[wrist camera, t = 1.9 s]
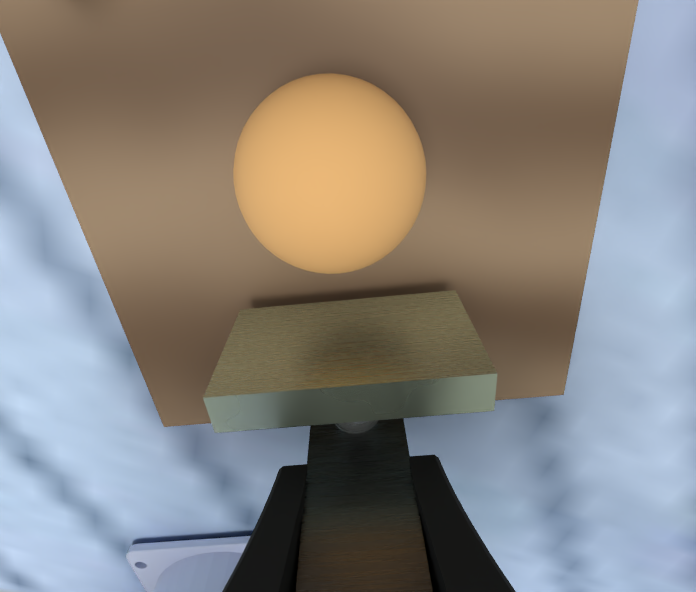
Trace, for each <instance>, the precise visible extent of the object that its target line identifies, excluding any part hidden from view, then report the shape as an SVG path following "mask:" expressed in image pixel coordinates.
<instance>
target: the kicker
mask: <svg viewBox="0 0 696 592" xmlns="http://www.w3.org/2000/svg"><path fill="white" fill-rule="evenodd" d="M496 384H497V372H496V370H495V368H494V366H493V364H492V362H491V360H490V358H489V356H488V354H487V352H486V350H485V348H484V346H483V344H482V342H481V340H480V338H479V336H478V334H477V332H476V330H475V328H474V326H473V324H472V322H471V320H470V318H469V316H468V314H467V312H466V310H465V308H464V306H463V304H462V302H461V300H460V298H459V296H458V294H457V293H456V291H455V290H452V291H441V292H430V293H419V294H408V295H397V296H386V297H375V298H364V299H352V300H341V301H330V302H319V303H308V304H297V305H286V306H275V307H264V308H253V309H241V310H240V312H239V314H238V316H237V319H236V321H235V323H234V326H233V328H232V330H231V333H230V335H229V337H228V340H227V342H226V345H225V347H224V349H223V352H222V354H221V356H220V359H219V361H218V363H217V366H216V368H215V371H214V373H213V375H212V378H211V380H210V382H209V385H208V387H207V389H206V392H205V394H204V396H203V400H204V403H205V406H206V408H207V411H208V414H209V417H210V420H211V423H212V426H213V429H214V432H215V433H222V432H234V431H247V430H259V429H272V428H284V427H297V426H310V425H311V427H310V438H309V449H308V460H307V464H308V467H307V478H306V489H305V500H304V507H303V516H302V527H301V538H300V549H299V560H298V571H297V582H296V592H433V590H432V585H431V579H430V573H429V567H428V561H427V555H426V550H425V544H424V538H423V532H422V526H421V520H420V515H419V509H418V504H417V500H416V496H415V491H414V485H413V479H412V473H411V468H410V462H409V457H410V456H409V450H408V445H407V439H406V433H405V427H404V421H403V418H410V417H423V416H435V415H448V414H461V413H473V412H486V411H494V406H495V395H496ZM398 418H399V419H398ZM385 419H386V420H385ZM322 424H323V425H322Z"/></svg>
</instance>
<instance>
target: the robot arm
mask: <svg viewBox="0 0 696 592" xmlns="http://www.w3.org/2000/svg"><path fill="white" fill-rule="evenodd" d="M409 462H410V468H411V473H412V479H413V485H414V491H415V496H416V500H417V504H418V509H419V515H420V520H421V526H422V532H423V538H424V544H425V550H426V555H427V561H428V567H429V573H430V579H431V585H432V590H433V592H515V590H514V589H513V587H512V586H511V584H510V583H509V581H508V580H507V578H506V577H505V575H504V574H503V572H502V571H501V569H500V568H499V566H498V565H497V563H496V562H495V560H494V559H493V557H492V556H491V554H490V552H489V551H488V549H487V548H486V546H485V544H484V543H483V541H482V539H481V538H480V536H479V534H478V533H477V531H476V529H475V528H474V526H473V525H472V523H471V521H470V519H469V518H468V516H467V514H466V512H465V511H464V509H463V507H462V505H461V503H460V501H459V500H458V498H457V496H456V494H455V492H454V490H453V488H452V486H451V484H450V482H449V480H448V478H447V476H446V474H445V472H444V469H443V467H442V465H441V462H440V460H439V458H438V457H437V456H435V455H424V456H411V457H409ZM307 467H308V464H306V465H293V466H283V467H282V468H280V469H279V471H278V474H277V477H276V480H275V482H274V485H273V487H272V490H271V492H270V495H269V497H268V499H267V502H266V504H265V506H264V509H263V511H262V513H261V515H260V518H259V520H258V522H257V524H256V526H255V529H254V531H253V533H252V535H251V536H240V537H226V538H212V539H198V540H183V541H169V542H155V543H141V544H134V545H132V546H130V548H129V550H128V552H127V554H126V559H127V560H128V562H129V564H130V565H131V567H132V569H133V570H134V572H135V574H136V575H137V577H138V579H139V580H140V582H141V584H142V586H143V587H144V589H145V591H146V592H296V582H297V571H298V560H299V549H300V538H301V527H302V516H303V507H304V500H305V489H306V478H307Z"/></svg>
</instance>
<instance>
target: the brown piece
mask: <svg viewBox="0 0 696 592" xmlns="http://www.w3.org/2000/svg"><path fill="white" fill-rule="evenodd" d="M637 5H638V0H0V33H1V36H2V38H3V41H4V43H5V45H6V48H7V50H8V53H9V55H10V57H11V60H12V62H13V65H14V67H15V69H16V72H17V74H18V77H19V79H20V81H21V84H22V86H23V89H24V91H25V93H26V96H27V98H28V101H29V103H30V106H31V108H32V110H33V113H34V115H35V118H36V120H37V122H38V125H39V127H40V130H41V132H42V134H43V137H44V139H45V142H46V144H47V146H48V149H49V151H50V154H51V156H52V158H53V161H54V163H55V166H56V168H57V170H58V173H59V175H60V178H61V180H62V182H63V185H64V187H65V190H66V192H67V194H68V197H69V199H70V202H71V204H72V207H73V209H74V211H75V214H76V216H77V219H78V221H79V223H80V226H81V228H82V231H83V233H84V235H85V238H86V240H87V243H88V245H89V247H90V250H91V252H92V255H93V257H94V259H95V262H96V264H97V267H98V269H99V271H100V274H101V276H102V279H103V281H104V283H105V286H106V288H107V291H108V293H109V295H110V298H111V300H112V303H113V305H114V308H115V310H116V312H117V315H118V317H119V320H120V322H121V324H122V327H123V329H124V332H125V334H126V336H127V339H128V341H129V344H130V346H131V348H132V351H133V353H134V356H135V358H136V360H137V363H138V365H139V368H140V370H141V372H142V375H143V377H144V380H145V382H146V384H147V387H148V389H149V392H150V394H151V396H152V399H153V401H154V404H155V406H156V409H157V411H158V413H159V416H160V418H161V421H162V423H163V425H164V427H168V426H181V425H193V424H206V423H211V420H210V417H209V414H208V411H207V408H206V406H205V403H204V400H203V396H204V394H205V392H206V389H207V387H208V385H209V382H210V380H211V378H212V375H213V373H214V371H215V368H216V366H217V363H218V361H219V359H220V356H221V354H222V352H223V349H224V347H225V345H226V342H227V340H228V337H229V335H230V333H231V330H232V328H233V326H234V323H235V321H236V319H237V316H238V314H239V312H240V310H241V309H253V308H264V307H275V306H286V305H297V304H308V303H319V302H330V301H341V300H352V299H364V298H375V297H386V296H397V295H408V294H419V293H430V292H441V291H452V290H455V291H456V293H457V294H458V296H459V298H460V300H461V302H462V304H463V306H464V308H465V310H466V312H467V314H468V316H469V318H470V320H471V322H472V324H473V326H474V328H475V330H476V332H477V334H478V336H479V338H480V340H481V342H482V344H483V346H484V348H485V350H486V352H487V354H488V356H489V358H490V360H491V362H492V364H493V366H494V368H495V370H496V372H497V384H496V395H495V400H504V399H517V398H529V397H541V396H554V395H564V390H565V384H566V379H567V374H568V369H569V363H570V358H571V353H572V348H573V342H574V337H575V332H576V327H577V321H578V316H579V311H580V306H581V300H582V295H583V290H584V284H585V279H586V274H587V269H588V263H589V258H590V253H591V248H592V242H593V237H594V232H595V227H596V221H597V216H598V211H599V205H600V200H601V195H602V190H603V184H604V179H605V174H606V169H607V163H608V158H609V153H610V148H611V142H612V137H613V132H614V126H615V121H616V116H617V111H618V105H619V100H620V95H621V90H622V84H623V79H624V74H625V69H626V63H627V58H628V53H629V47H630V42H631V37H632V32H633V26H634V21H635V16H636V11H637ZM328 73H334V74H342V75H348V76H352V77H356V78H359V79H362V80H364V81H366V82H369V83H371V84H373V85H375V86H376V87H378V88H380V89H381V90H383V91H384V92H386V93H387V94H388V95H389V96H390V97H392V98H393V99H394V100H395V101H396V102H397V103H398V104H399V105H400V106H401V108H402V109H403V110H404V111H405V113H406V114H407V116H408V117H409V118H410V120H411V121H412V123H413V125H414V127H415V129H416V131H417V133H418V135H419V138H420V141H421V144H422V147H423V151H424V156H425V161H426V187H425V193H424V199H423V203H422V206H421V209H420V212H419V214H418V216H417V219H416V221H415V223H414V225H413V226H412V228H411V229H410V231H409V233H408V234H407V235H406V236H405V238H404V239H403V240H402V241H401V243H400V244H399V245H398V246H397V247H396V248H395V249H394V250H393V251H392V252H390V253H389V254H388V255H386V256H385V257H384V258H382V259H381V260H379V261H377V262H375V263H374V264H372V265H370V266H367V267H365V268H362V269H359V270H355V271H352V272H346V273H340V274H324V273H315V272H310V271H306V270H303V269H300V268H297V267H294V266H292V265H290V264H288V263H286V262H284V261H283V260H281V259H279V258H278V257H276V256H275V255H274V254H272V253H271V252H270V251H269V250H267V249H266V248H265V247H264V246H263V245H262V244H261V243H260V242H259V241H258V239H257V238H256V237H255V235H254V234H253V233H252V231H251V230H250V228H249V226H248V225H247V223H246V221H245V219H244V217H243V215H242V213H241V210H240V208H239V205H238V202H237V198H236V195H235V188H234V179H233V167H234V158H235V151H236V147H237V143H238V140H239V137H240V135H241V132H242V130H243V128H244V126H245V124H246V122H247V120H248V119H249V117H250V116H251V114H252V113H253V112H254V110H255V109H256V108H257V106H258V105H259V104H260V103H261V102H262V101H263V100H264V99H265V98H267V97H268V96H269V95H270V94H271V93H273V92H274V91H275V90H277V89H278V88H279V87H281V86H283V85H285V84H287V83H289V82H291V81H293V80H296V79H299V78H302V77H305V76H310V75H315V74H328Z"/></svg>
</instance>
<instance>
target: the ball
mask: <svg viewBox="0 0 696 592" xmlns="http://www.w3.org/2000/svg"><path fill="white" fill-rule="evenodd" d="M233 179H234V188H235V195H236V198H237V202H238V205H239V208H240V210H241V213H242V215H243V217H244V219H245V221H246V223H247V225H248V226H249V228H250V230H251V231H252V233H253V234H254V235H255V237H256V238H257V239H258V241H259V242H260V243H261V244H262V245H263V246H264V247H265V248H266V249H267V250H269V251H270V252H271V253H272V254H274V255H275V256H276V257H278V258H279V259H281V260H283V261H284V262H286V263H288V264H290V265H292V266H294V267H297V268H300V269H303V270H306V271H310V272H315V273H324V274H340V273H346V272H352V271H355V270H359V269H362V268H365V267H367V266H370V265H372V264H374V263H375V262H377V261H379V260H381V259H382V258H384V257H385V256H386V255H388V254H389V253H390V252H392V251H393V250H394V249H395V248H396V247H397V246H398V245H399V244H400V243H401V241H402V240H403V239H404V238H405V236H406V235H407V234H408V233H409V231H410V229H411V228H412V226H413V225H414V223H415V221H416V219H417V216H418V214H419V212H420V209H421V206H422V203H423V199H424V193H425V187H426V161H425V156H424V151H423V147H422V144H421V141H420V138H419V135H418V133H417V131H416V129H415V127H414V125H413V123H412V121H411V120H410V118H409V117H408V116H407V114H406V113H405V111H404V110H403V109H402V108H401V106H400V105H399V104H398V103H397V102H396V101H395V100H394V99H393V98H392V97H390V96H389V95H388V94H387V93H386V92H384V91H383V90H381V89H380V88H378V87H376V86H375V85H373V84H371V83H369V82H366V81H364V80H362V79H359V78H356V77H352V76H348V75H342V74H334V73H328V74H315V75H310V76H305V77H302V78H299V79H296V80H293V81H291V82H289V83H287V84H285V85H283V86H281V87H279V88H278V89H277V90H275V91H274V92H273V93H271V94H270V95H269V96H268V97H267V98H265V99H264V100H263V101H262V102H261V103H260V104H259V105H258V106H257V108H256V109H255V110H254V112H253V113H252V114H251V116H250V117H249V119H248V120H247V122H246V124H245V126H244V128H243V130H242V132H241V135H240V137H239V140H238V143H237V147H236V151H235V158H234V167H233Z"/></svg>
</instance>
